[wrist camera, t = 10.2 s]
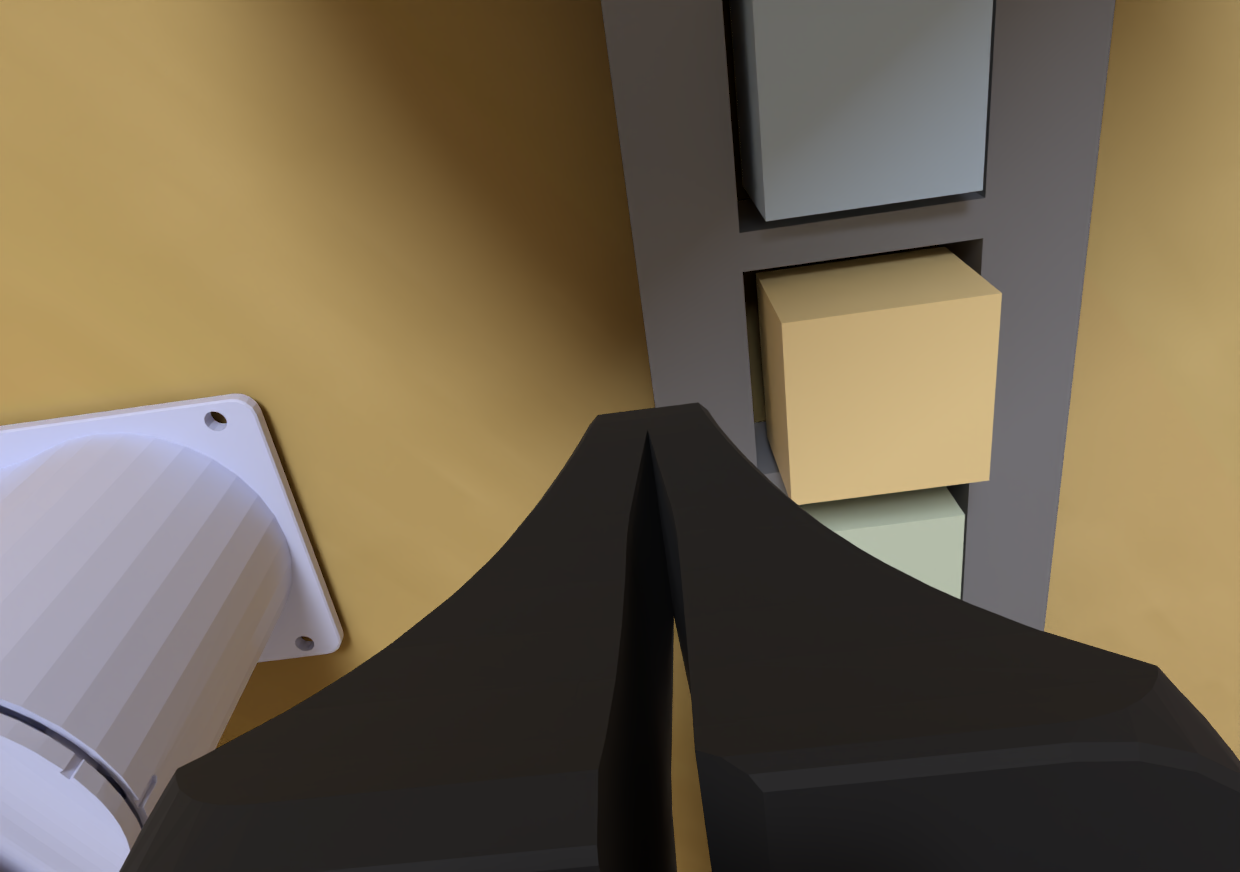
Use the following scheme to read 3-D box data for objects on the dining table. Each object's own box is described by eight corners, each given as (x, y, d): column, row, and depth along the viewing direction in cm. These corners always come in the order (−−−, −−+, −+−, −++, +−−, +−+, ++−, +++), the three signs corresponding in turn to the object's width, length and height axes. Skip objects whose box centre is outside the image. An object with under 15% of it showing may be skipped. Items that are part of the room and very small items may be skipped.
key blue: (742, 185, 19) (766, 221, 16) (728, -21, 17) (750, -19, 15) (928, 159, 19) (982, 189, 16) (934, -53, 17) (996, -56, 14)
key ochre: (767, 436, 21) (791, 505, 18) (755, 273, 19) (781, 323, 16) (938, 414, 21) (989, 480, 18) (944, 246, 19) (1001, 293, 16)
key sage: (772, 594, 24) (793, 670, 22) (763, 470, 22) (785, 537, 20) (918, 576, 24) (957, 651, 22) (921, 449, 22) (964, 515, 20)
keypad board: (720, 889, 31) (729, 961, 29) (586, -106, 17) (585, -117, 15) (979, 861, 30) (1009, 931, 28) (1066, -184, 16) (1138, -207, 14)
